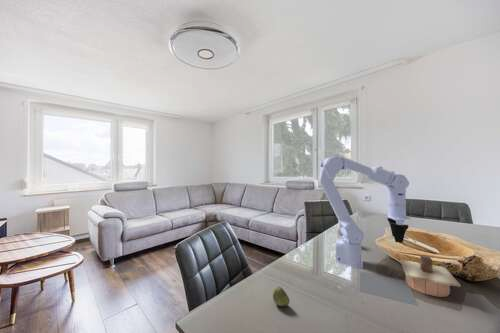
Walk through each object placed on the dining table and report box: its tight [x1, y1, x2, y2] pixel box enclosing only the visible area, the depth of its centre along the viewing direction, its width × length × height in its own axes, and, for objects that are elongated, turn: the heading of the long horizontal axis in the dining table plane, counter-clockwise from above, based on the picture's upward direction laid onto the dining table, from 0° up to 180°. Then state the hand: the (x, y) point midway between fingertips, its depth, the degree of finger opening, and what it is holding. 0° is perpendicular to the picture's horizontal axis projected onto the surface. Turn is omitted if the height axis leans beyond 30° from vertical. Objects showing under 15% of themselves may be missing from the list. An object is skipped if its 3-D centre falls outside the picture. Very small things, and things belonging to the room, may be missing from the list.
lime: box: [272, 285, 290, 307], centre depth 56 cm, size 4×5×5 cm
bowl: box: [405, 275, 451, 298], centre depth 64 cm, size 10×10×5 cm
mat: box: [359, 270, 418, 306], centre depth 65 cm, size 14×14×1 cm
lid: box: [399, 255, 461, 288], centre depth 64 cm, size 12×12×5 cm
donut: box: [336, 224, 343, 239], centre depth 103 cm, size 10×3×10 cm, turn 16°
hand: (397, 239), depth 80 cm, fingers open, 7 cm apart
